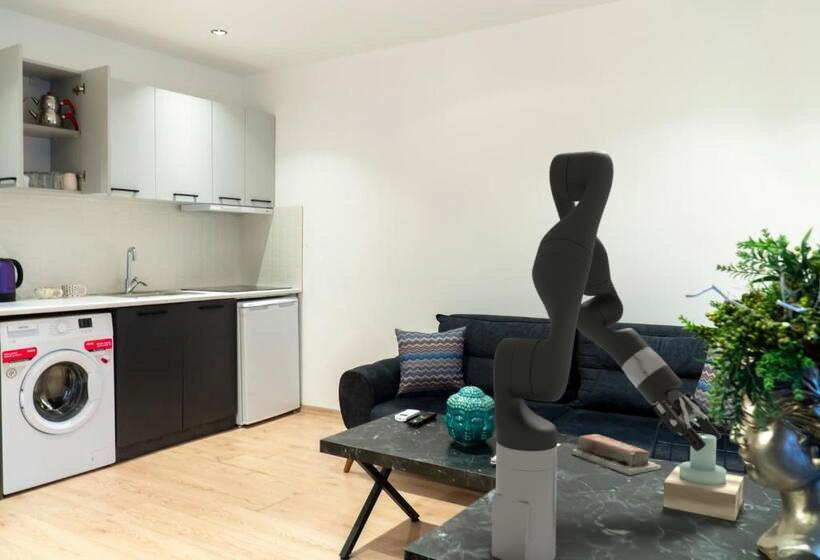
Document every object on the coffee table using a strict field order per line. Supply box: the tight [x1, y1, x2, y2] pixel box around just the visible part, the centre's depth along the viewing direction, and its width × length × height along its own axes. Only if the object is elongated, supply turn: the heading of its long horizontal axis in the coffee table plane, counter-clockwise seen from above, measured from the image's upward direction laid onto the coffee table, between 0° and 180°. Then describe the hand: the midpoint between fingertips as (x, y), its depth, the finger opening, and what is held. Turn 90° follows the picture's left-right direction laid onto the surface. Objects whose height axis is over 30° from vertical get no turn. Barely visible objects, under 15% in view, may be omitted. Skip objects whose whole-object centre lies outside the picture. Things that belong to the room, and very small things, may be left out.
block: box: [662, 465, 745, 522], centre depth 123 cm, size 12×12×5 cm
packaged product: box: [571, 433, 662, 476], centre depth 149 cm, size 18×5×10 cm
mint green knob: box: [679, 432, 727, 485], centre depth 124 cm, size 8×8×8 cm
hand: (709, 444), depth 123 cm, fingers open, 8 cm apart
